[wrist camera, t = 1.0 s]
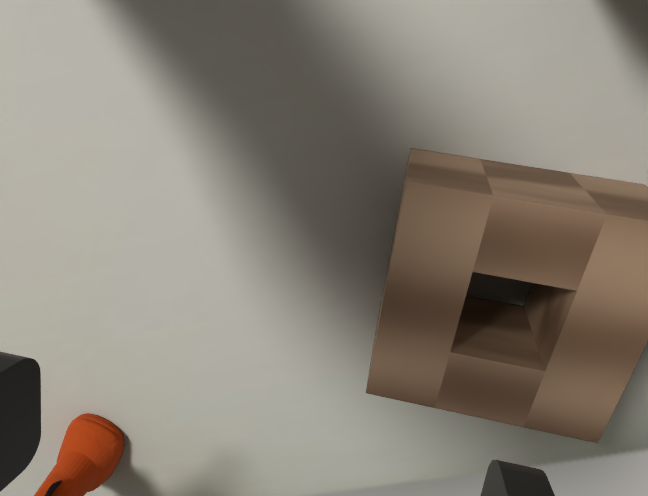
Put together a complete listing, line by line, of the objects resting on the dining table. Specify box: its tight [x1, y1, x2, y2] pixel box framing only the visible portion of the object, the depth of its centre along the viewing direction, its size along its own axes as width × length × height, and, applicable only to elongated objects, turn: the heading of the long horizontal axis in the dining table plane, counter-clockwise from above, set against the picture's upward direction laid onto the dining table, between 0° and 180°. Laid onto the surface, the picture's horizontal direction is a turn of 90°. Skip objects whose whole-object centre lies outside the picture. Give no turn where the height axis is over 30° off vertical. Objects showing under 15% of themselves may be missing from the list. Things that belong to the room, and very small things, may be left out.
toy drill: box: [34, 414, 124, 496], centre depth 33 cm, size 5×19×15 cm, turn 155°
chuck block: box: [366, 148, 648, 443], centre depth 26 cm, size 12×12×6 cm
